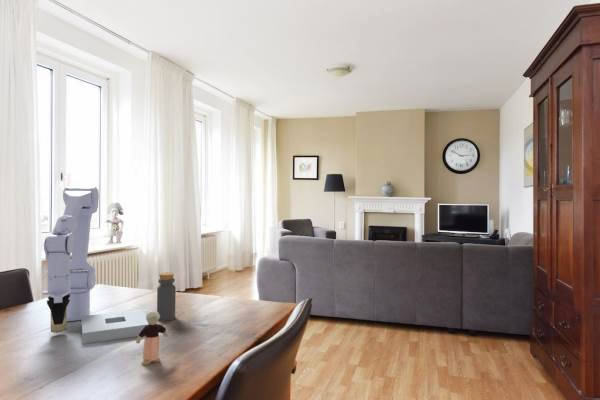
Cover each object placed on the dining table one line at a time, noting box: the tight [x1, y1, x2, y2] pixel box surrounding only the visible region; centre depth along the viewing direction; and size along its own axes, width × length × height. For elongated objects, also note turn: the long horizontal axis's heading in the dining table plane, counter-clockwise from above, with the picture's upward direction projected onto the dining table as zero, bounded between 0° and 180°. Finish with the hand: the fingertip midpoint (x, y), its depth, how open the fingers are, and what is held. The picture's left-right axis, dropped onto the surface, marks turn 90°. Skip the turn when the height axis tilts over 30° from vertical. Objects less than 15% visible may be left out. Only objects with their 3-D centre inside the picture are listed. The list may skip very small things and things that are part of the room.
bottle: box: [156, 272, 177, 322], centre depth 136 cm, size 6×6×15 cm
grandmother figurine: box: [135, 309, 169, 366], centre depth 101 cm, size 8×4×13 cm, turn 139°
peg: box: [50, 308, 68, 334], centre depth 119 cm, size 4×4×8 cm
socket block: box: [80, 308, 149, 345], centre depth 124 cm, size 18×18×3 cm
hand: (58, 321), depth 119 cm, fingers closed on peg, 4 cm apart
